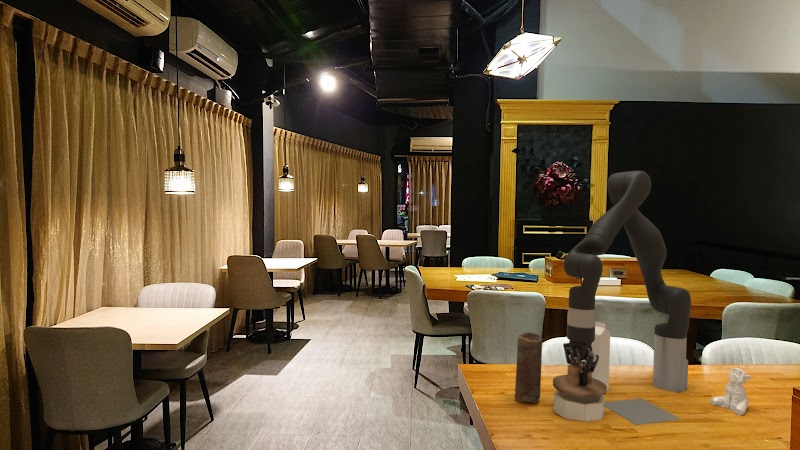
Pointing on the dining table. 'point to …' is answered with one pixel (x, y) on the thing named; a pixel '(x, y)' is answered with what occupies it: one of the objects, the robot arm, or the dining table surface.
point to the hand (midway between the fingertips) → (579, 383)
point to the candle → (528, 367)
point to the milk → (601, 353)
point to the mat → (639, 411)
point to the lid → (572, 387)
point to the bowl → (579, 407)
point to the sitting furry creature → (734, 393)
